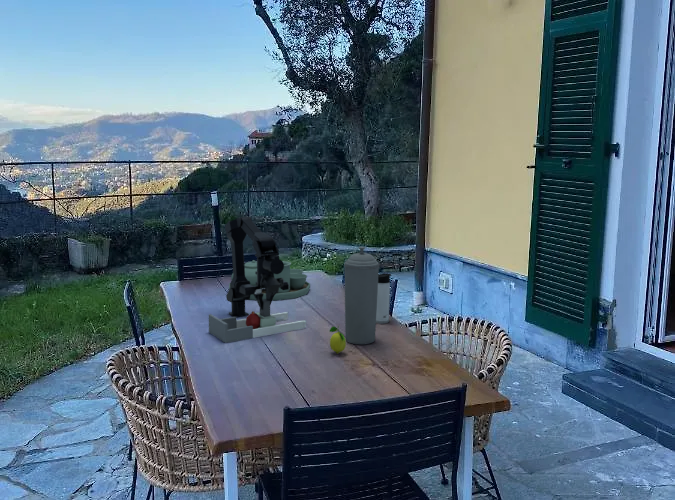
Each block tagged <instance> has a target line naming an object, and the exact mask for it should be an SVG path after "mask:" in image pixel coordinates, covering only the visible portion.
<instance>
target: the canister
mask: <svg viewBox="0 0 675 500" xmlns="http://www.w3.org/2000/svg"><path fill="white" fill-rule="evenodd" d="M358 249H359V252H357V253H353V254H351V255H350V256H349V257H348V258H347V260H346V261H344V264H343V266H344V309H345V310H344V320H345V321H344V325H345V326H344V327H345V328H344V329H345V335H344V337H345V340H346V343H350V344H354V345H369V344H372V343H373V342H375V340H376V328H377V327H376V326H377V325H376V324H377V323H376V313H377V294H378V274H379V270H380V263H379V262H378V261H377V259H376V258H375V257H374V256H373V255H372V254H370V253H366V252H364V250H365V249H366V247H365V246H359V247H358Z"/></svg>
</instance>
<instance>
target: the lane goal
mask: <svg viewBox="0 0 675 500" xmlns="http://www.w3.org/2000/svg"><path fill="white" fill-rule="evenodd" d="M270 315H271V316H273V317H275V318H277V317H284V320H283V321H288V320H289V312H288V311H284V312H279V313H273V314H270ZM303 329H307V321H306V320H305V319H304V320H299V321H293V322H287V323H282V324H276V325H275V326H269V327H263V328H258V329H253V326H246V318H242V319H241V318H240V319H238V317H234V316H232V317H231V316H230V317H224V318H218V317H217V316H215V315H213V314H212V313H210V314H208V333H209V332H210V334H211V335H212V334H213V335H212V336H214V337H215V336H216V337H215V338H217V339H218V338H219V339H218V340H220V341H221V340H222V341H221V342H223V343H224V342H225V343H224V344H227V343H233V342H238V341H239V342H240V341H243V340H244V341H245V340H249V339H250V340H251V339H254V338H255V339H256V338H259V337H266V336H270V335H277V334H282V333H289V332H293V331H299V330H303Z"/></svg>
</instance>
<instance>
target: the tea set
mask: <svg viewBox="0 0 675 500" xmlns="http://www.w3.org/2000/svg"><path fill="white" fill-rule="evenodd" d="M282 262H283V264H284V269H283V271H282V272H281V273H280V274H274V278H275V279H276V278H283V280H284V281H286V282H288V284H289V289H288V290H282V289H281V288H279V293H276V294H275V295H274V297H273V299H272V301H282V300H291V299H296V298H299V297H302V296H305V295H307V294H308V293H309V291H310V289H311V283H310V282H308V281H307V278H308V275H307V274H306V273H304V270H302V269H300V268H299V269H298V268H291V265H292V262H291V261H290V262H289V261H287V260H286V261H284V260H282ZM244 266H245V277H246V279H247V280H248V281H250V285H252V286H257V285H256V282H257V274H255V271H257V260H254V259H253V260H252V261H248V262H244ZM230 278H231V279H230V281H232V279H233V273H232V274H231V276H230ZM230 283H231V282H229V283H228V290H229V289H230ZM262 293H263V294H264V295H263V297H262V299H266V290H262ZM250 300H252V301H257V300H256V298H255V297H254V295H253V294H252V295H250ZM250 300H249V301H250Z"/></svg>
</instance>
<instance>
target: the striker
mask: <svg viewBox="0 0 675 500" xmlns="http://www.w3.org/2000/svg"><path fill="white" fill-rule="evenodd" d="M262 300H263V310H261V309H260V308H259V312H255V313H256V314H257V315H258V316H259V317H260V327H259V328H263V327H269V326H275V325H277V322H282V321H285V320H284V317H277V318H275V317H273V316H271V315H272V314H271V305H270V301H269V300H267V299H262Z"/></svg>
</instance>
